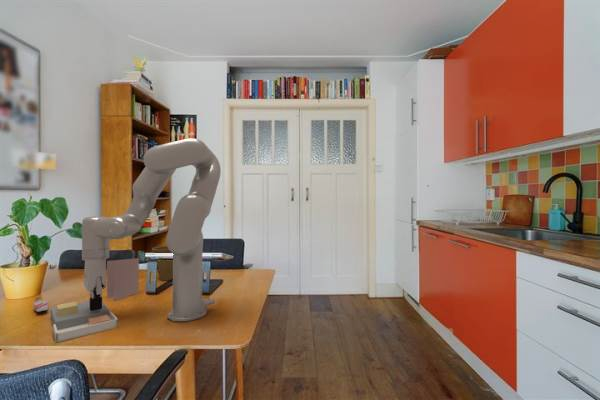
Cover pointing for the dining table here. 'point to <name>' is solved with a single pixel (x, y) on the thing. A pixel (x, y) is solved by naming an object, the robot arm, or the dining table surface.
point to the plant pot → (164, 264)
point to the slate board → (77, 316)
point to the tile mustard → (67, 309)
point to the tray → (83, 329)
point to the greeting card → (122, 278)
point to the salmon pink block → (98, 319)
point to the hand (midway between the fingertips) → (95, 309)
